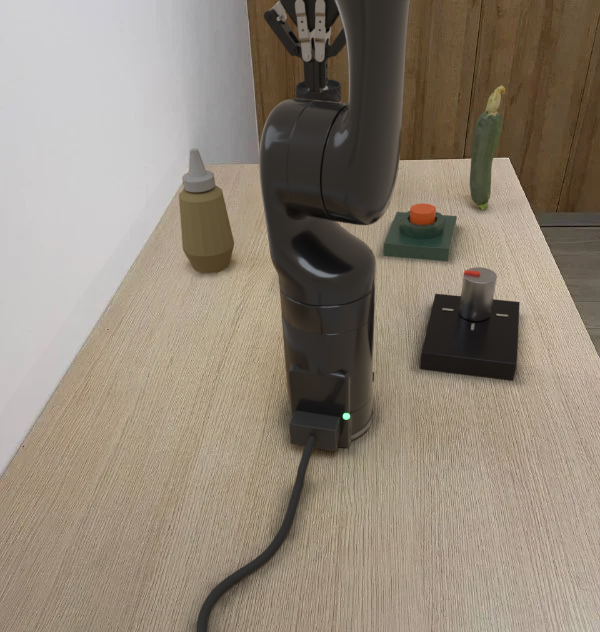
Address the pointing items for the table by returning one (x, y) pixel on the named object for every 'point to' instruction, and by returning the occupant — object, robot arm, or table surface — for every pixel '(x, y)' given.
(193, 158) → the squeeze bottle
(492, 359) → the panel
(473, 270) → the cooker knob
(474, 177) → the vegetable
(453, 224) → the button housing
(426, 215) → the button
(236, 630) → the table surface
